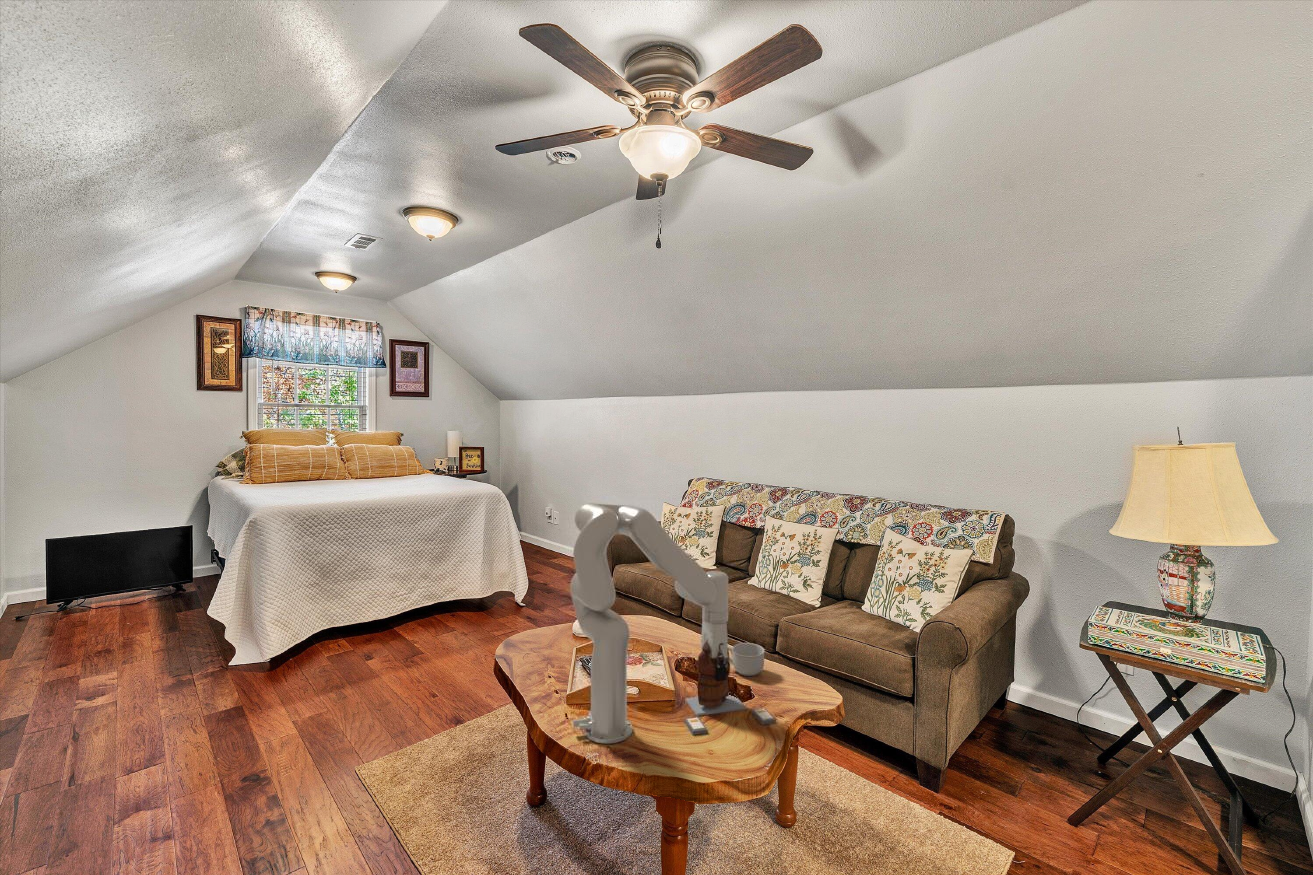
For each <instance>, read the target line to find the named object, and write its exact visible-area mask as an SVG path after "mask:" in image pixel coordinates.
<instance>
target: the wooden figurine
mask: <svg viewBox="0 0 1313 875" xmlns="http://www.w3.org/2000/svg"><path fill="white" fill-rule="evenodd" d="M710 652H711V649H710V646H709V644H708V642H707V641H706V642H705V643H704V645H703V647H702V648H701V651H700V653H699V654H698V657H697V668H696V670H697V672H698V673H699V675H698V678H697V697H698V701H699V704H700V705H703V706H719V705H721V703H722V702H724V701H725V700H726V697H727V696H729V693H730V691H729V679H728V677H729V676H730V673H731V662H730V661H729V657H730V650H728V651H727V655H728V660H727V662H728V663H727V670H726V680H724V681H716V680H715V667H717V665H716V657H715V658H711V657H710ZM719 655H721V654H720V652H718V655H717V656H719ZM720 660H722V658H719V662H720Z"/></svg>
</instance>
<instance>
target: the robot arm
mask: <svg viewBox="0 0 1313 875" xmlns="http://www.w3.org/2000/svg"><path fill="white" fill-rule="evenodd" d="M574 523H575V527H576V528H577V529H578V531H579V532H580V533H579V534H578V536H577V539H576V540H575V544H574V546H573V551H572V552H573V554H572V556H573V562H574V566H575V571H576V572H575V573H574V574H573V576H572V578H571V580H570V584H569V586H570V587H569V588H570V589H569V590H570V591H569V592H570V597H571V600H572V604H573V608H574V611H575V615H576V619H577V623H578V625H579V628H580V630H581V632H582V633H583V635H584V636H586V637H587V638H588V639H589V640H590V642H592V644H593V648H592V649H593V650H592V655H591V660H590V711H589V712H587V713H588V714H587V716H584V718H574V719H572V727H573V728H578V730H579V731H584V734H585V736H586V738H587V739H588V740H590V741H591V742H595V743H597V744H617V743H619V742H622V741H623V742H624V741H625V740H626V739H628V738H629V737H631V735H632V733H633V725H632V723H631V722H630V721H629V720H628V719H627V718H628V716H627V714H628V712H627V710H628V709H627V706H628V704H627V703H628V701H627V699H628V697H627V696H628V693H627V692H628V690H627V689H628V688H627V687H628V686H627V685H628V684H627V683H628V674H627V669H628V668H627V665H628V663H627V662H628V649H629V643H630V637H631V636H630V634H631V632H630V627H629V625H628V623H627V621H626V619H624V618H623V617H622V616H621V615H620V614H619V613H617V612H615V611H614V610H612V609H611V608H612V607H613V605H614V604H615V601H616V597H617V596H616V588H615V584H614V582H613V581H614V580H613V577H612V573H611V571H610V566H609V563H608V562H609V561H608V556H607V552H608V551H607V550H608V546H609V543H610V541H611V540H612V539H613V537H614V536H615V535H623V536H627V537H629V538H630V540H632V541H633V542H634V544H635V545H636V546H637V547H638V549H639V550H641V552H642V553H643V554H644V555H645V556H646V558H647V559H648V561H650V562H651V563H652V565H654V566H655V567H656V568H658V569H659V570H660V571H662V572H663V573H664V574H667V575H668V576H670V577H671V578H673V580H675V581H674V590H675V592H676V593H677V595H678V596H680V597H681V598H683V599H685V600H686V601H688V602H691V603H693V604H695V605H697V606H699V607H702V609H701V610H702V612H701V613H702V614H701V615H702V617H701V618H702V624H701V636H700V639H701V640H700V646H701V647H700V648H701V649H702V647H703V645H704V643H705V642H706V641H707V642H708V644H709V646H710V649H711V652H710V657H711V658H715V657H716V665H717V667H715V680H716V681H724V680H726V670H727V663H728V662H727V660H728V655H727V651H728V627H727V622H729V577H728V574H727V573H726V572H724V571H723V572H722V571H721V570H720V571H718V570H710V571H705V569H704V568H703V567H702V566H701V565H700V564H699V563H698V562H697V561H695V559H694V558H693V557H691V556H690V555H689V554H688V553H687V552H686V551H685V550H684V549H683V548H681V547H680V546H679V545H678V544H677V542H675V540H674V539H673V538H672V537H671V536H670V535H669V533H668V532H667V531H666V530H665V528H664V527H663V526H662V524H660V523H659V522H658V520H657V519H656V518H655V516H654V515H653V514H652V513H651V512H649V510H646V509H645V508H642V507H638V506H634V505H626V504H608V503H607V504H604V503H586V504H583V505H581V506H580V507H579V508H578V509H577V511H576V513H575V516H574ZM718 652H720V654H721V655H719V656H717V655H718ZM719 658H722V660H720V662H719Z"/></svg>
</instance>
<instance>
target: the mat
mask: <svg viewBox="0 0 1313 875" xmlns="http://www.w3.org/2000/svg"><path fill="white" fill-rule="evenodd" d="M736 697H737V696H736ZM736 697H734V696H731V695H729V696H727V697H726V700H725V701H724V702H722V703H721V705H719V706H703V705H700V704H699V701H698V696H694V697H687V698H686V697H685V702H686V703H687V705H688V706H689V707H690V709H691V710H692V712H693V713H694V714H695V715H696V716H695V717H700V716H701V717H702V716H706V715H714V714H716V715H717V714H722V713H729V712H736V711H743V710H747V707H746V705H744V704H743V702H742V701H741V700H740V699H739V698H738V697H737V698H736Z"/></svg>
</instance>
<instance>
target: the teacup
mask: <svg viewBox="0 0 1313 875" xmlns="http://www.w3.org/2000/svg"><path fill="white" fill-rule="evenodd" d="M728 650H729V652H730V654H731V656H732V657H730V656H729V662H730V665H732V666H733V669H735V671H736V672H737V673H738V674H740V675H742V676H745V677H753V676H756V675H758V674H759V673H760V672H762V671H763V670H764V667H765V652H766V650H765V649H764V647H763V646H761V645H759V644H757V643H752V642H740V643H737V644H735V645H733V646H732V647H731V646H728Z"/></svg>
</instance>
